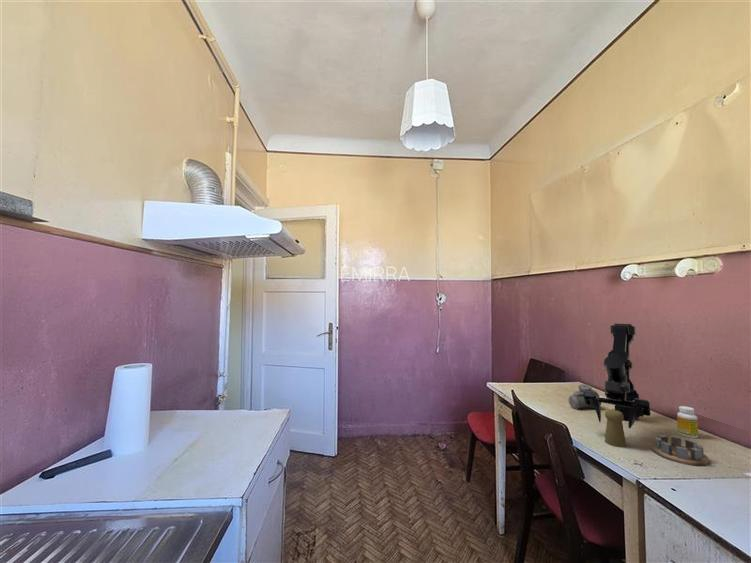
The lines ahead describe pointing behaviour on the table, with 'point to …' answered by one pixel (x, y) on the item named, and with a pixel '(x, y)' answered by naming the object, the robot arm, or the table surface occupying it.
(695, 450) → the castellated collar
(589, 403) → the robot arm
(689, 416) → the supplement bottle
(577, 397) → the pipe fitting
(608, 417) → the cork
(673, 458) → the walnut base
